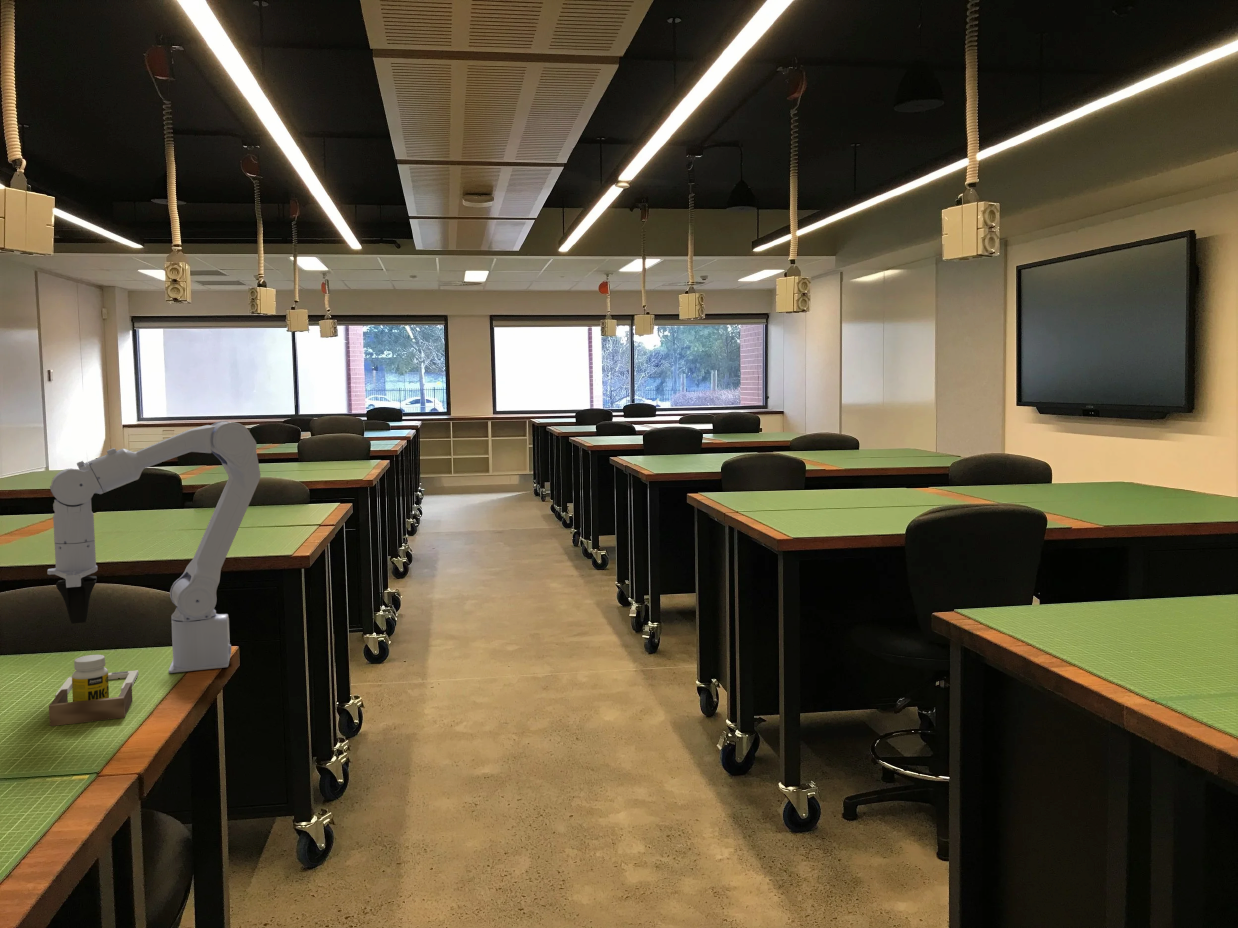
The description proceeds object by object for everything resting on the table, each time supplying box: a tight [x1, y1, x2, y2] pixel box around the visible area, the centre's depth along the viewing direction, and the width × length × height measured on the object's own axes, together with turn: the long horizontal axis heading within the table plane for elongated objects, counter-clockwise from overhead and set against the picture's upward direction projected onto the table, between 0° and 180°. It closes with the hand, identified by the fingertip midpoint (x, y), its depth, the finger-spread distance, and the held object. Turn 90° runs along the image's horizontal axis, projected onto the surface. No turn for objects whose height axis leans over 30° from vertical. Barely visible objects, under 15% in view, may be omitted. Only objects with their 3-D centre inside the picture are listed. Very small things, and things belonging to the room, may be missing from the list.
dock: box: [54, 669, 139, 698], centre depth 147 cm, size 10×10×1 cm
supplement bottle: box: [71, 654, 110, 702], centre depth 135 cm, size 5×5×8 cm
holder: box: [48, 682, 133, 727], centre depth 135 cm, size 10×8×3 cm
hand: (78, 622), depth 148 cm, fingers closed
